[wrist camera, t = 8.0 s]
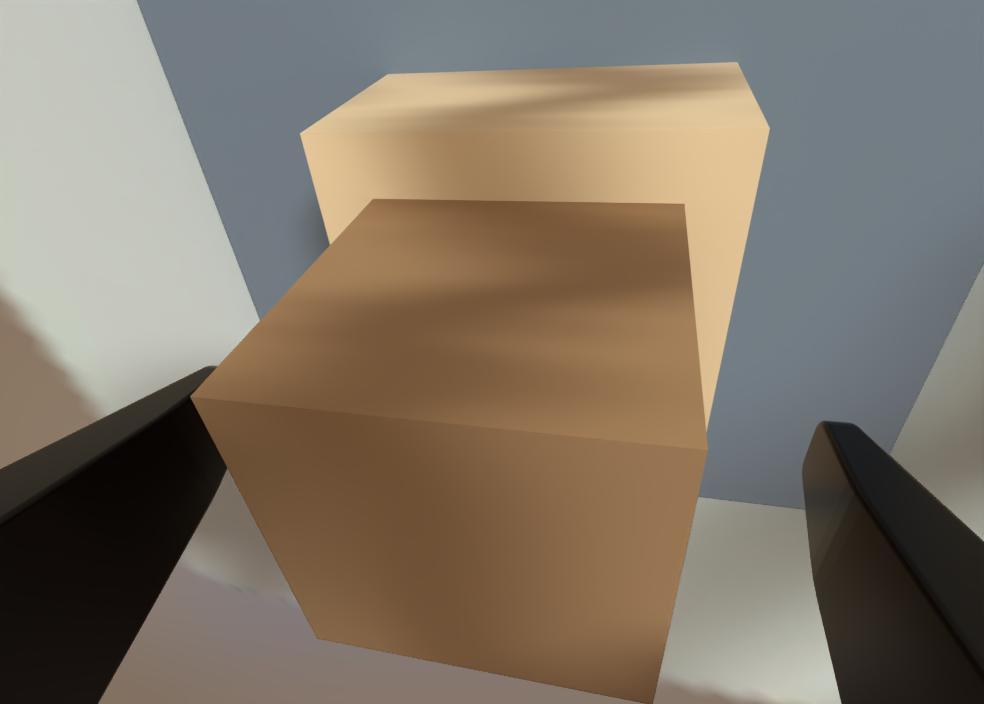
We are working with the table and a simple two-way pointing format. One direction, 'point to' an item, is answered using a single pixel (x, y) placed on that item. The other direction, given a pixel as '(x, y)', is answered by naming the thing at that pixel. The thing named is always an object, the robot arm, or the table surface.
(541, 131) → the maple base block
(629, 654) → the walnut block
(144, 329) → the table surface
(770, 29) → the board
